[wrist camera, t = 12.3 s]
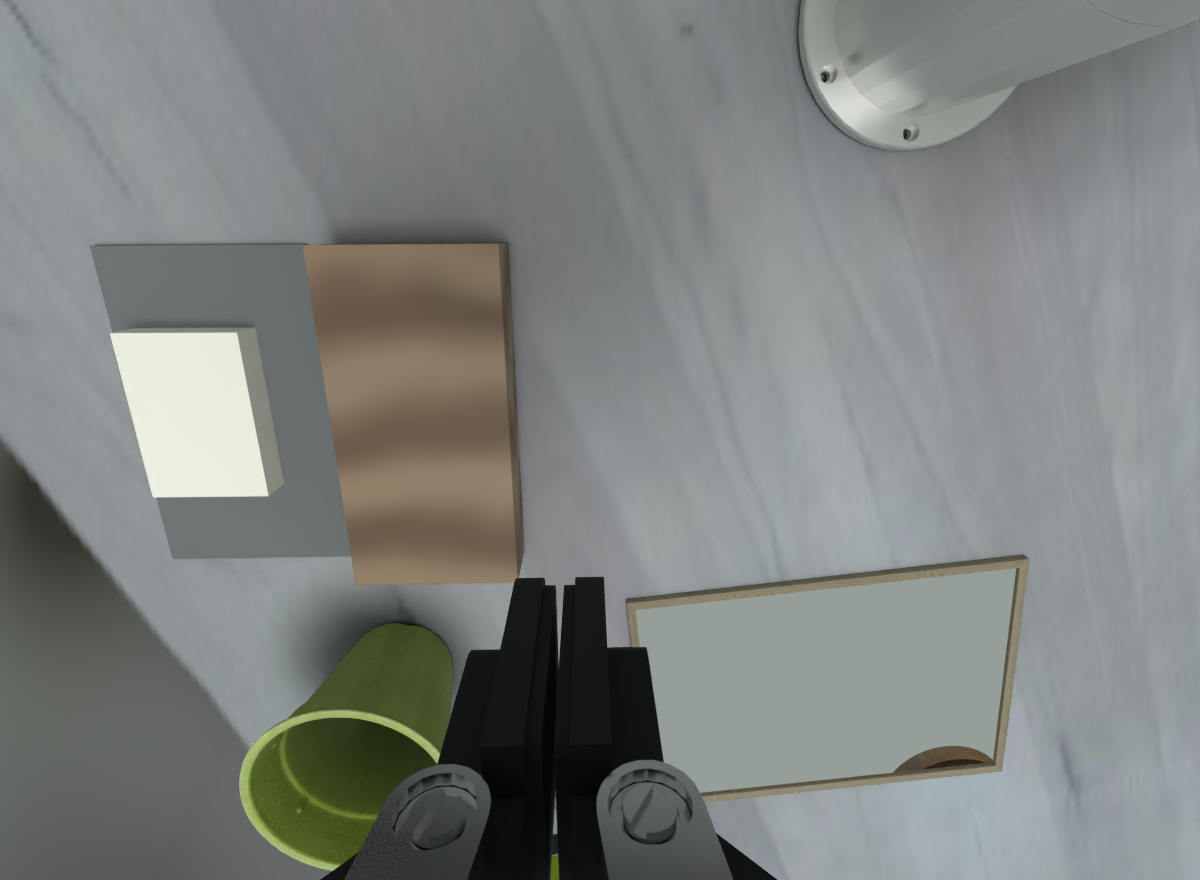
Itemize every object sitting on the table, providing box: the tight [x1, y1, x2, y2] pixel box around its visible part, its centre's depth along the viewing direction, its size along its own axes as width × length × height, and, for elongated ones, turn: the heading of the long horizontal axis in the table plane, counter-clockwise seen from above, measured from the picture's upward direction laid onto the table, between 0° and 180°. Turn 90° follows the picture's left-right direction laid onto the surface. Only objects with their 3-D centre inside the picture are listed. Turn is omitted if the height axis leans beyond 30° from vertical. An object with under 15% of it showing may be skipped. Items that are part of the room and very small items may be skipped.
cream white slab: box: [110, 327, 284, 497], centre depth 36 cm, size 10×7×2 cm
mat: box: [90, 244, 351, 559], centre depth 37 cm, size 20×12×1 cm, turn 0°
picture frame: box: [626, 555, 1029, 802], centre depth 45 cm, size 19×1×28 cm
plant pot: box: [239, 623, 453, 871], centre depth 39 cm, size 12×12×11 cm
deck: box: [303, 243, 524, 585], centre depth 36 cm, size 20×10×4 cm, turn 0°
